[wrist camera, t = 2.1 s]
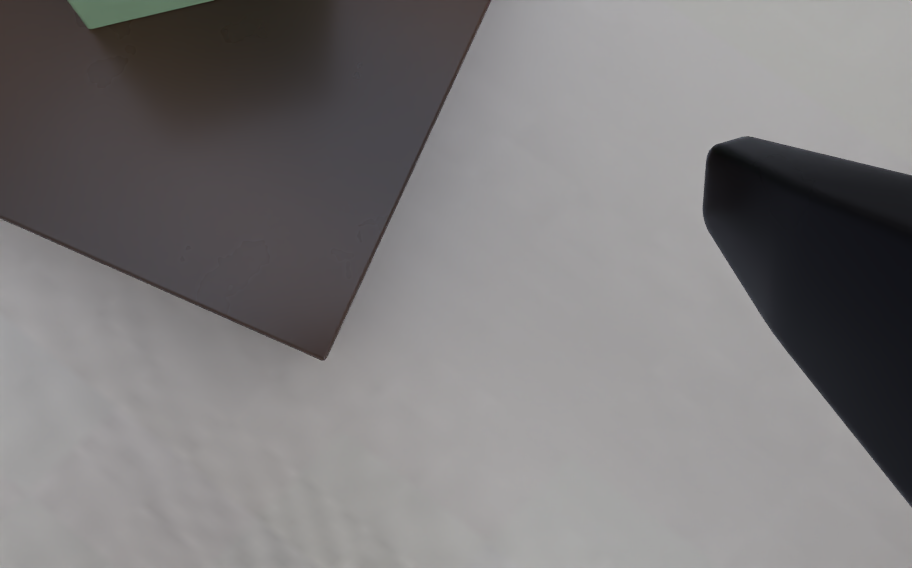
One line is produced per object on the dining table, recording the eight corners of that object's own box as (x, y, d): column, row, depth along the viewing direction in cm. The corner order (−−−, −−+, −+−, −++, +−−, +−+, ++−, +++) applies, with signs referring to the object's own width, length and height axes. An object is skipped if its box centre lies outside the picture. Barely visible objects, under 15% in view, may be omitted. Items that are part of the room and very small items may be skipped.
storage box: (324, 358, 21) (324, 362, 17) (-129, 158, 20) (-258, 104, 15) (519, -67, 23) (567, -166, 18) (112, -278, 21) (58, -441, 17)
